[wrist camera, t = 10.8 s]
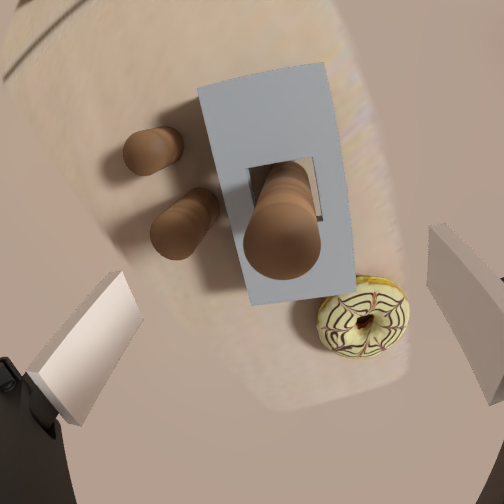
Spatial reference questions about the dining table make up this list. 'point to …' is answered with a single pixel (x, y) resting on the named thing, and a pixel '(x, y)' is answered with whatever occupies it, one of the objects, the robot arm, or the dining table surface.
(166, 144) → the short dowel
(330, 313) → the decorated donut
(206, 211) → the medium dowel
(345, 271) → the bridge
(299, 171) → the long dowel
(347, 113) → the dining table surface
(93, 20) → the dining table surface
